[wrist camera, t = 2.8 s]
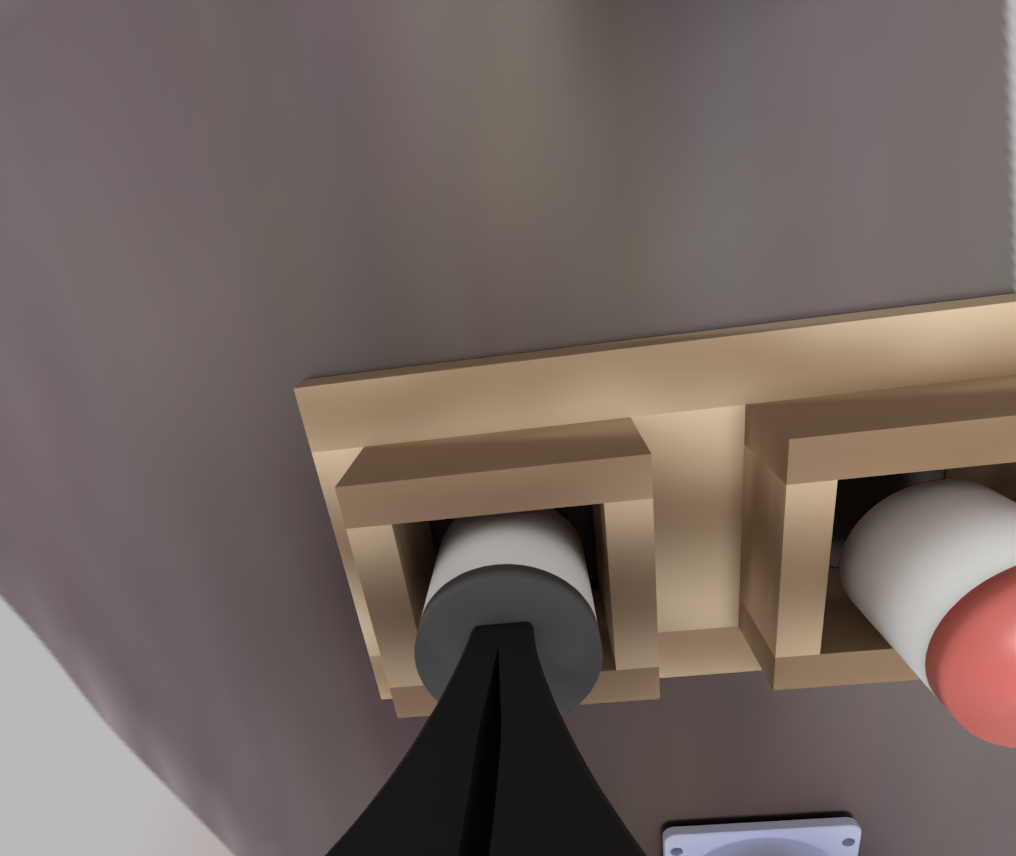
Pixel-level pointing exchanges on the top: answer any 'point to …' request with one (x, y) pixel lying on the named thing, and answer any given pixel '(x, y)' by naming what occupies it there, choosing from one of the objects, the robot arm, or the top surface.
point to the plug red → (944, 594)
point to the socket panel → (669, 479)
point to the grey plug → (513, 599)
